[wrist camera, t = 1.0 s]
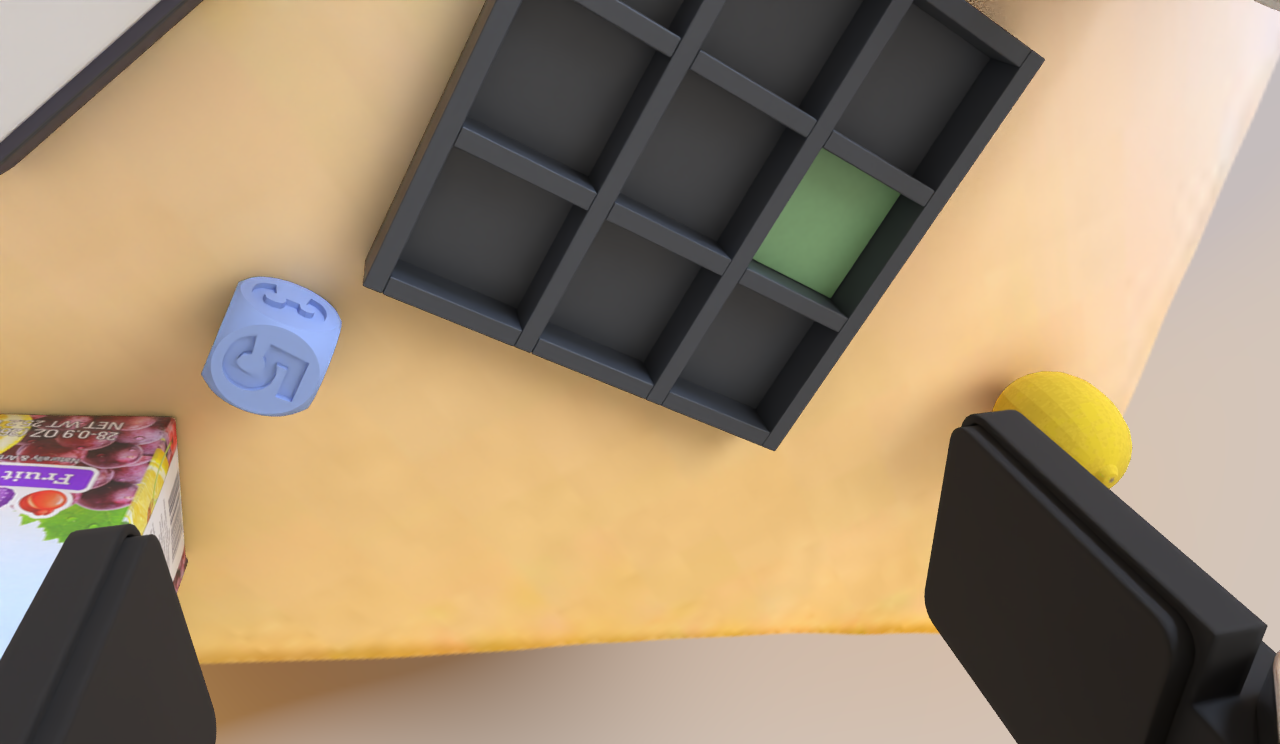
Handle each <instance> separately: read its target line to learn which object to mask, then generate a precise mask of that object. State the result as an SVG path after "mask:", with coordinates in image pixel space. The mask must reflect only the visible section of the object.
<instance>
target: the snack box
mask: <svg viewBox="0 0 1280 744" xmlns="http://www.w3.org/2000/svg"><path fill="white" fill-rule="evenodd" d="M122 524H133V525H135V526H136V527H137V529H138V530H139V531H140V534H141V536H142V535H149V534H153V535H156V537H157V538H158V539H159V542H160V544H161V547H162V550H163V553H164V556H165V559H166V562H167V565H168V568H169V571H170V575H171V578H172V581H173V584H174V587H175V590H176V593H177V591H178V588H179V586H180V583H181V580H182V577H183V575H184V572H185V569H186V566H187V563H188V559H187V557H186V555H185V544H184V529H183V516H182V502H181V489H180V476H179V462H178V447H177V435H176V422H175V419H174V418H172V417H154V416H53V415H17V414H0V659H1V657H2V655H3V654H4V652H5V650H6V648H7V646H8V644H9V643H10V641H11V639H12V637H13V635H14V633H15V632H16V630H17V628H18V626H19V624H20V622H21V621H22V619H23V617H24V615H25V613H26V611H27V610H28V608H29V606H30V604H31V602H32V600H33V599H34V597H35V595H36V593H37V591H38V589H39V588H40V586H41V584H42V582H43V580H44V578H45V577H46V575H47V573H48V571H49V569H50V567H51V565H52V564H53V562H54V560H55V558H56V556H57V554H58V553H59V551H60V549H61V547H62V545H63V543H64V542H65V540H66V538H67V537H68V536H69V534H70V533H71V532H74V531H76V530H84V529H91V528H99V527H107V526H114V525H122Z"/></svg>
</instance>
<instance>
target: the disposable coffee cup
mask: <svg viewBox="0 0 1280 744" xmlns="http://www.w3.org/2000/svg"><path fill="white" fill-rule="evenodd" d="M1254 1H1256V2H1258V3H1260V4H1263V5H1265V6H1267V7H1270V8H1272V9H1275V10H1277V11H1280V0H1254Z"/></svg>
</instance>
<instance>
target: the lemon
mask: <svg viewBox="0 0 1280 744" xmlns="http://www.w3.org/2000/svg"><path fill="white" fill-rule="evenodd" d="M1002 410H1016V411H1018V412H1020V413H1021V414H1023V415H1024V416H1025V417H1026V418H1027V419H1028V420H1030V421H1031V422H1032V423H1033V424H1034V425H1035V426H1036V427H1038V428H1039V429H1040V430H1041V431H1042V432H1043V433H1045V434H1046V435H1047V436H1048V437H1049V438H1050V439H1052V440H1053V441H1054V442H1055V443H1056V444H1057V445H1059V446H1060V447H1061V448H1062V449H1063V450H1064V451H1066V452H1067V453H1068V454H1069V455H1070V456H1071V457H1072V458H1074V459H1075V460H1076V461H1077V462H1078V463H1079V464H1081V465H1082V466H1083V467H1084V468H1085V469H1086V470H1088V471H1089V472H1090V473H1091V474H1092V475H1093V476H1095V477H1096V478H1097V479H1098V480H1099V481H1100V482H1101V483H1103V484H1104V485H1105V486H1106V487H1107V488H1108V489H1110V488H1111V487H1113V486H1114V485H1115V484H1116V483H1117V482H1118V481H1119V480H1120V479H1121V478H1122V476H1123V475H1124V473H1125V472H1126V470H1127V467H1128V464H1129V462H1130V460H1131V452H1132V442H1131V435H1130V431H1129V428H1128V426H1127V424H1126V422H1125V421H1124V419H1123V417H1122V415H1121V414H1120V412H1119V411H1118V409H1117V408H1116V406H1115V405H1114V404H1113V403H1112V402H1111V401H1110V400H1109V399H1108V398H1107V397H1106V396H1105V395H1104V394H1103V393H1102V392H1100V391H1099V390H1098V389H1097V388H1095V387H1094V386H1093V385H1091V384H1090V383H1088V382H1086V381H1085V380H1082V379H1080V378H1078V377H1075V376H1072V375H1069V374H1065V373H1062V372H1049V371H1042V372H1037V373H1032V374H1028V375H1026V376H1023V377H1021V378H1019V379H1017V380H1016V381H1014V382H1013V383H1011V384H1010V385H1009V386H1008V387H1007V388H1006V389H1005V390H1004V391H1003V392H1002V393H1001V395H1000V396H999V397H998V399H997V401H996V403H995V405H994V408H993V411H992V412H994V411H1002Z"/></svg>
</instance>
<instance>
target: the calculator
mask: <svg viewBox="0 0 1280 744" xmlns="http://www.w3.org/2000/svg"><path fill="white" fill-rule="evenodd" d="M202 1H203V0H0V175H1V174H3V173H4V172H6V171H8V170H9V169H11V168H12V167H14V166H15V165H16V164H17V163H18V162H20V161H21V160H22V159H23V158H24V157H25V156H26V155H28V154H29V153H30V152H31V151H32V150H33V149H34V148H36V147H37V146H38V145H39V144H40V143H41V142H42V141H44V140H45V139H46V138H47V137H48V136H49V135H50V134H51V133H53V132H54V131H55V130H56V129H57V128H58V127H59V126H61V125H62V124H63V123H64V122H65V121H66V120H67V119H69V118H70V117H71V116H72V115H73V114H74V113H75V112H77V111H78V110H79V109H80V108H81V107H82V106H83V105H85V104H86V103H87V102H88V101H89V100H90V99H91V98H92V97H94V96H95V95H96V94H97V93H98V92H99V91H100V90H102V89H103V88H104V87H105V86H106V85H107V84H108V83H110V82H111V81H112V80H113V79H114V78H115V77H116V76H118V75H119V74H120V73H121V72H122V71H123V70H124V69H125V68H127V67H128V66H129V65H130V64H131V63H132V62H133V61H135V60H136V59H137V58H138V57H139V56H140V55H141V54H143V53H144V52H145V51H146V50H147V49H148V48H149V47H151V46H152V45H153V44H154V43H155V42H156V41H157V40H159V39H160V38H161V37H162V36H163V35H164V34H165V33H166V32H168V31H169V30H170V29H171V28H172V27H173V26H174V25H176V24H177V23H178V22H179V21H180V20H181V19H182V18H184V17H185V16H186V15H187V14H188V13H189V12H190V11H192V10H193V9H194V8H195V7H196V6H197V5H198V4H199V3H201V2H202Z"/></svg>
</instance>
